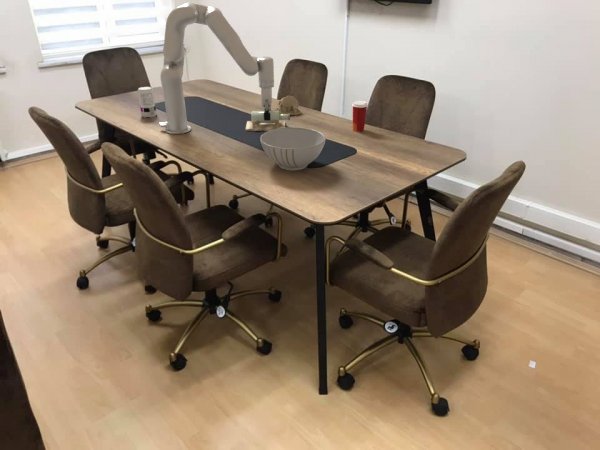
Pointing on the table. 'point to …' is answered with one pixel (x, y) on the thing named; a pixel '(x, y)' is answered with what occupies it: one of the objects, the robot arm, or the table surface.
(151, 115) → the supplement can
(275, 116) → the bottle
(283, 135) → the decorative bowl
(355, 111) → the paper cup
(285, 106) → the ceramic model
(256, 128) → the bottle rest
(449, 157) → the table surface
